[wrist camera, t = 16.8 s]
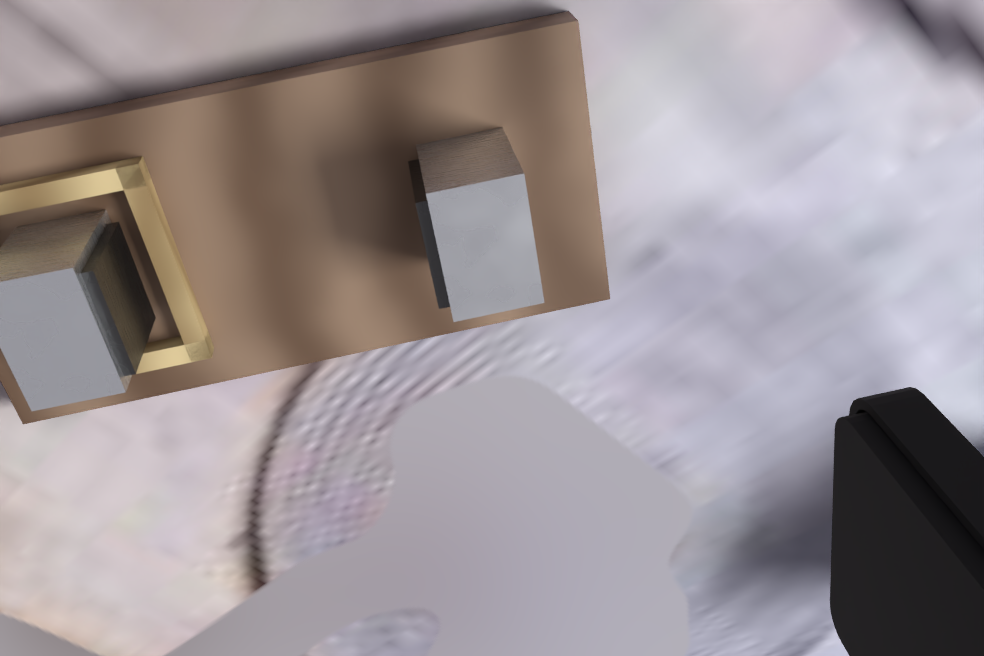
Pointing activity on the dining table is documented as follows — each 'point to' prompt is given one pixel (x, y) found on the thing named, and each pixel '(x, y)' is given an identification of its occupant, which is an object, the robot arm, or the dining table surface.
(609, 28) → the dining table surface
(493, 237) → the grey square block
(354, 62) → the brown flat board
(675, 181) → the dining table surface
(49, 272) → the grey thick square block
